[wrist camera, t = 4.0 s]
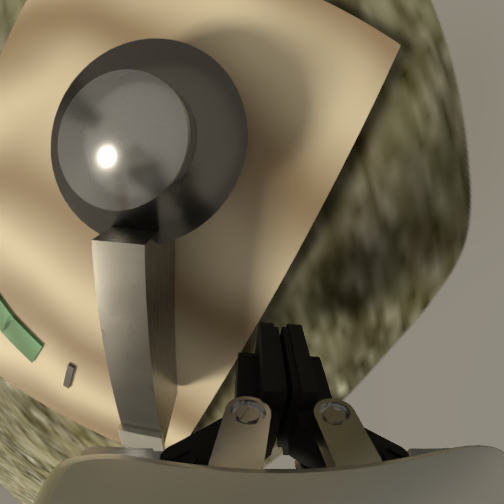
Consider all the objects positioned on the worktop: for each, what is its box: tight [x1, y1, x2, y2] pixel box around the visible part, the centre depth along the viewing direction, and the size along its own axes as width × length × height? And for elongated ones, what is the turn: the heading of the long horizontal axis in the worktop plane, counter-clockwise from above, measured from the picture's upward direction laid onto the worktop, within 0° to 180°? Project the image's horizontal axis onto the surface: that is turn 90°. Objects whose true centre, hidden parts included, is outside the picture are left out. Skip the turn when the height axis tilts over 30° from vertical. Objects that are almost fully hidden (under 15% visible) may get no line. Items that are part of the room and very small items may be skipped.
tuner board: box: [0, 0, 401, 449], centre depth 13 cm, size 26×17×2 cm, turn 154°
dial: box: [51, 38, 248, 451], centre depth 10 cm, size 15×6×4 cm, turn 174°
